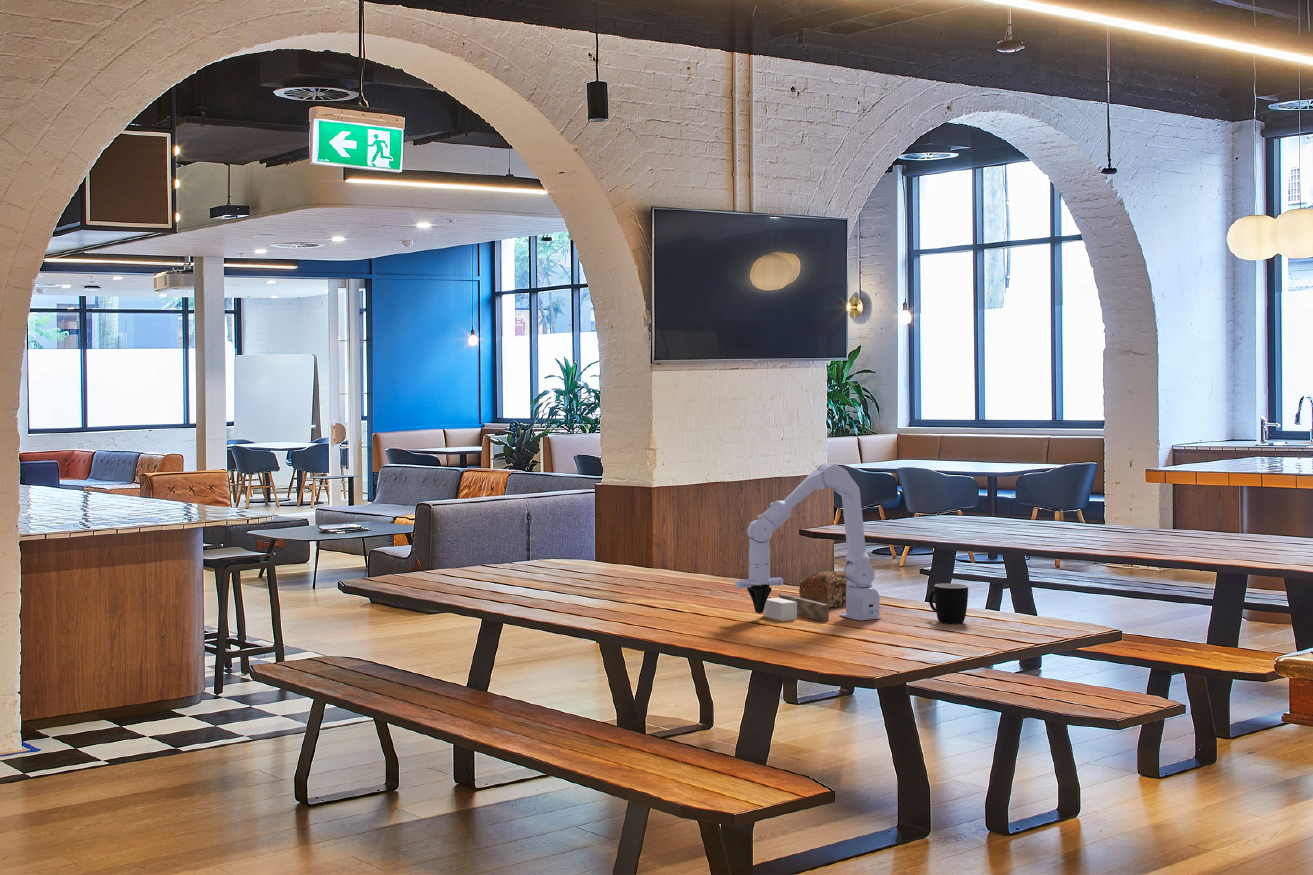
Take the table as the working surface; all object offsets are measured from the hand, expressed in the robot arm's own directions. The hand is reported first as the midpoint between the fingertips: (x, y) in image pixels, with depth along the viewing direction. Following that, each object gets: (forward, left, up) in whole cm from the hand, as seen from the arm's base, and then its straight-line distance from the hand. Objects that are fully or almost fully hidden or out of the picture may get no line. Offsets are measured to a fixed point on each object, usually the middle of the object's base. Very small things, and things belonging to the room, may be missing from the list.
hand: (759, 612), depth 354 cm
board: (+1, -15, -2) cm, 15 cm away
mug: (-26, -44, -2) cm, 51 cm away
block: (0, -7, -2) cm, 7 cm away
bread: (+14, -33, -2) cm, 36 cm away
